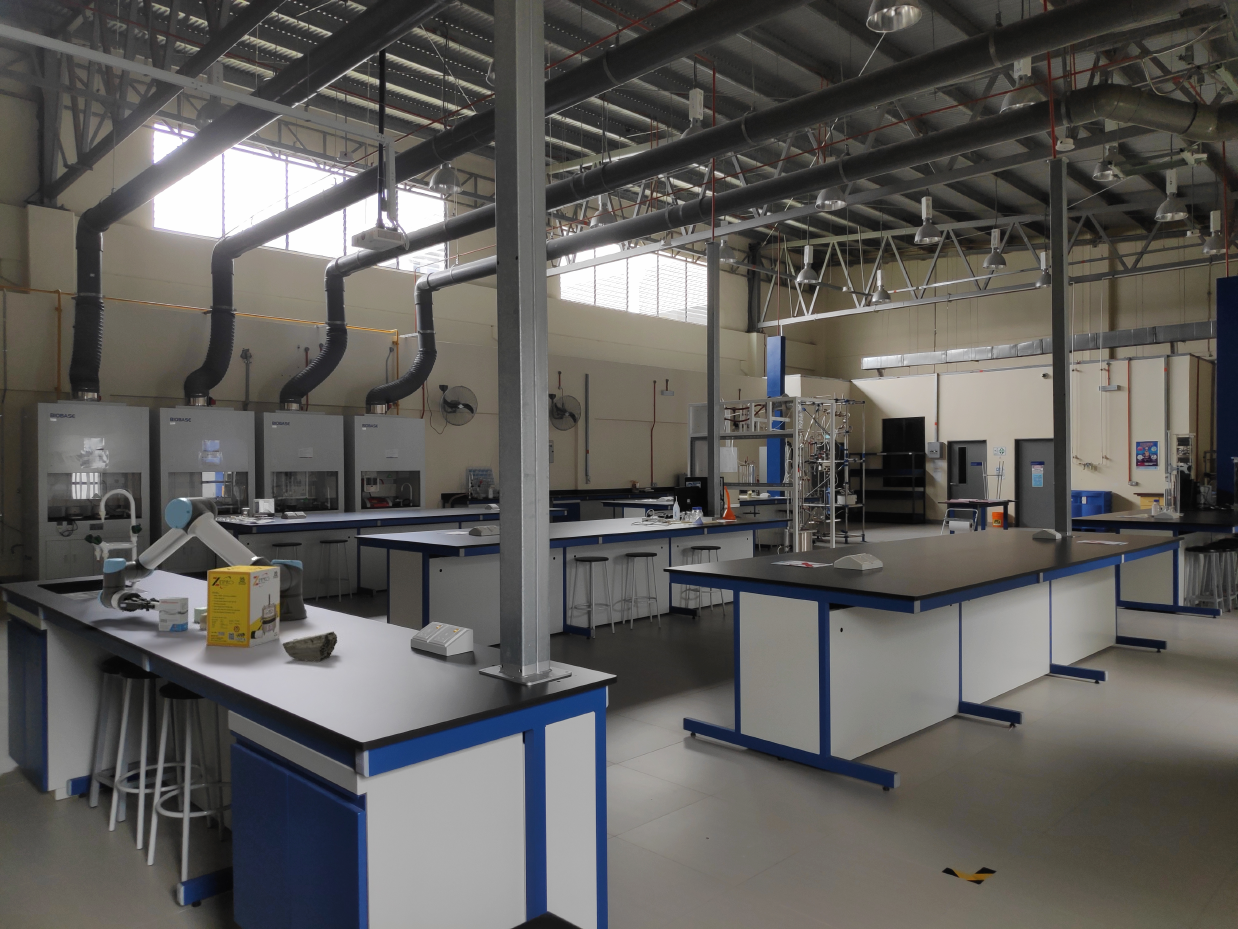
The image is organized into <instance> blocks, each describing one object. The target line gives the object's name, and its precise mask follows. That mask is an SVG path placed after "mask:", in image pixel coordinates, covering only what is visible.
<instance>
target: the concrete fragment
mask: <svg viewBox="0 0 1238 929" xmlns="http://www.w3.org/2000/svg"><path fill="white" fill-rule="evenodd" d="M337 643H338V636H337V634H336V633H335V631H329V632H325V633H320V634H317V635H316V634H315V635H311V636H305V637H302V638H295V639H292V640H289V641H286V642H283V643H282V647H283V649H284V651H285V653H286V654H287V655H288V656H289V657H290V658H292V659H294V660H298V661H303V662H304V661H306V662H312V663H313V662H314V663H319V662H321V661H323V660H325V659H327V658H329V657H330V656H331V655H332V653H333V652H334V650H335V648H336V644H337Z"/></svg>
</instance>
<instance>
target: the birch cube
mask: <svg viewBox="0 0 1238 929" xmlns="http://www.w3.org/2000/svg"><path fill="white" fill-rule="evenodd" d="M199 629H206V630H207V613H205V614H202V615H200V622H199Z"/></svg>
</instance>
